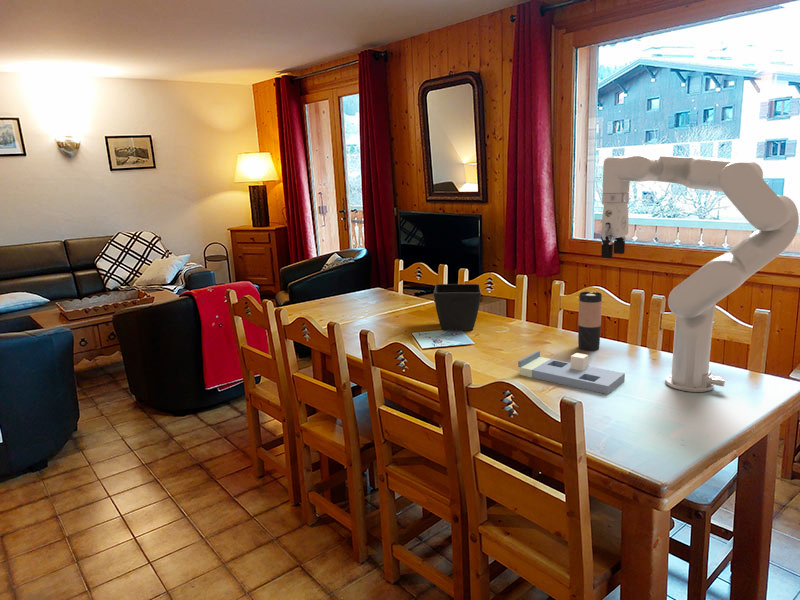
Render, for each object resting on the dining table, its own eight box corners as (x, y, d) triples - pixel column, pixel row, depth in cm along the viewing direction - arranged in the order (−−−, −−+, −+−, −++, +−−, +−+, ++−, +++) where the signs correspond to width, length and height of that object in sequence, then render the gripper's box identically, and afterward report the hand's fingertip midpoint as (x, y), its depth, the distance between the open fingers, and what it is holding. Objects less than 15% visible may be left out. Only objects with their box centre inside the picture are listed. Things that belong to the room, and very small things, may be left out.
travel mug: (585, 352, 199) (587, 296, 195) (573, 346, 207) (574, 292, 202) (604, 349, 201) (606, 294, 197) (591, 343, 209) (593, 290, 204)
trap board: (624, 381, 171) (625, 366, 170) (607, 394, 162) (608, 379, 161) (537, 363, 190) (537, 350, 189) (518, 374, 180) (518, 361, 179)
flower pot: (479, 320, 247) (479, 283, 243) (481, 332, 229) (481, 292, 225) (436, 321, 249) (435, 283, 245) (434, 333, 231) (433, 292, 227)
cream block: (588, 367, 177) (588, 355, 176) (582, 370, 174) (583, 358, 173) (575, 364, 180) (576, 352, 179) (570, 368, 177) (570, 356, 176)
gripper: (617, 200, 161) (614, 260, 165) (638, 197, 174) (635, 252, 178) (591, 200, 166) (589, 258, 170) (613, 197, 179) (611, 251, 183)
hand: (613, 255), depth 174 cm, fingers open, 9 cm apart
